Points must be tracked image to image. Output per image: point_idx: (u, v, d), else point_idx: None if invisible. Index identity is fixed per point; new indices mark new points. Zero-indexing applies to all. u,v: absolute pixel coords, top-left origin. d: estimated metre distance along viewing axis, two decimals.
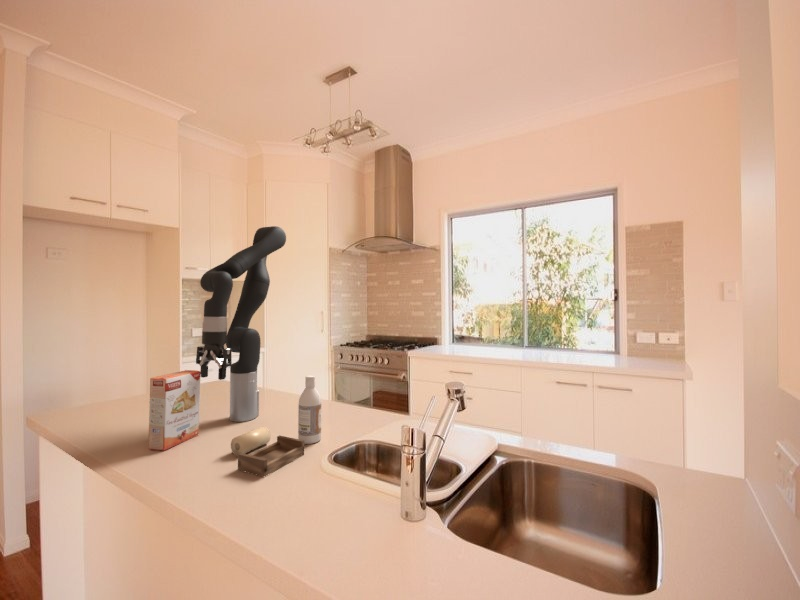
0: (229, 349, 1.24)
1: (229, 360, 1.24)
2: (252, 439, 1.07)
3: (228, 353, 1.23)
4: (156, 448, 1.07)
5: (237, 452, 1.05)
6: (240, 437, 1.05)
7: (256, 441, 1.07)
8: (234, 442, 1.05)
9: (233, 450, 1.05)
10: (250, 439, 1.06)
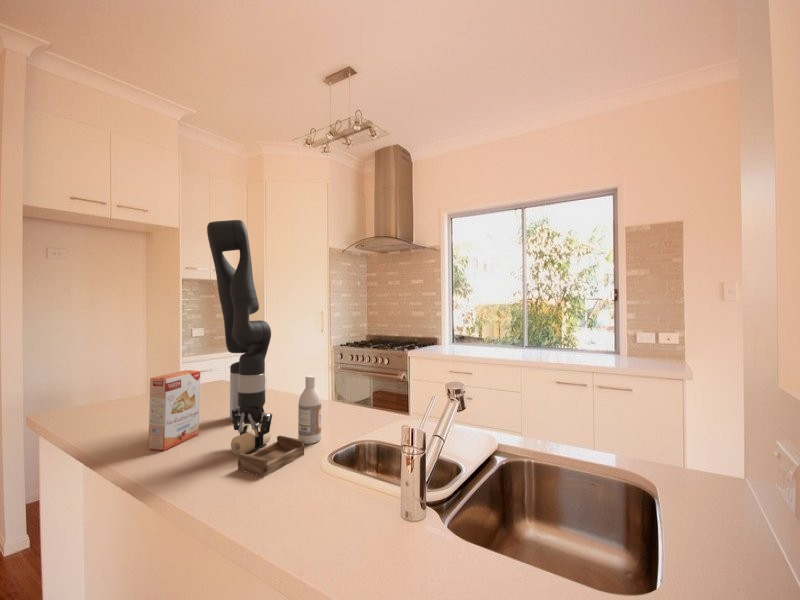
0: (269, 415, 1.07)
1: (267, 427, 1.08)
2: (252, 439, 1.07)
3: (268, 420, 1.07)
4: (156, 448, 1.07)
5: (237, 452, 1.05)
6: (240, 437, 1.05)
7: None
8: (234, 442, 1.05)
9: (233, 450, 1.05)
10: (251, 439, 1.06)
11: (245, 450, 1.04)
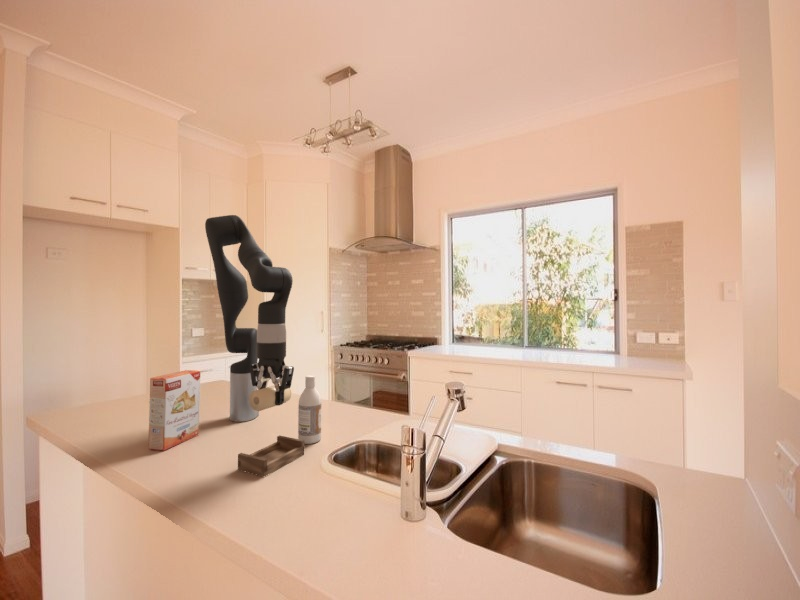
0: (291, 368, 0.98)
1: (289, 381, 0.99)
2: (272, 393, 0.98)
3: (290, 373, 0.98)
4: (156, 448, 1.07)
5: (256, 407, 0.96)
6: (259, 390, 0.96)
7: None
8: (253, 396, 0.96)
9: (252, 405, 0.96)
10: (271, 394, 0.97)
11: (265, 405, 0.95)
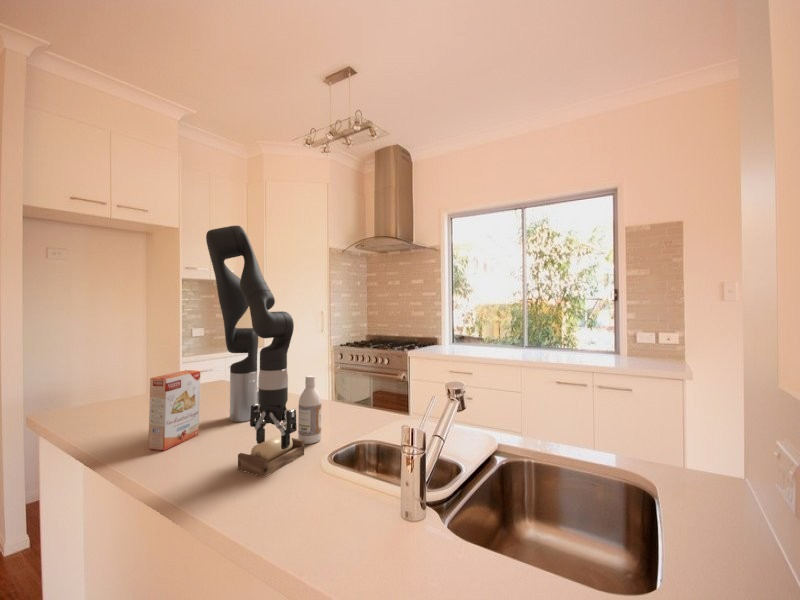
0: (293, 410, 0.98)
1: (294, 424, 0.98)
2: (274, 447, 0.98)
3: (293, 416, 0.98)
4: (156, 448, 1.07)
5: None
6: (261, 445, 0.96)
7: (278, 449, 0.99)
8: (255, 450, 0.96)
9: None
10: (272, 447, 0.98)
11: (267, 460, 0.96)
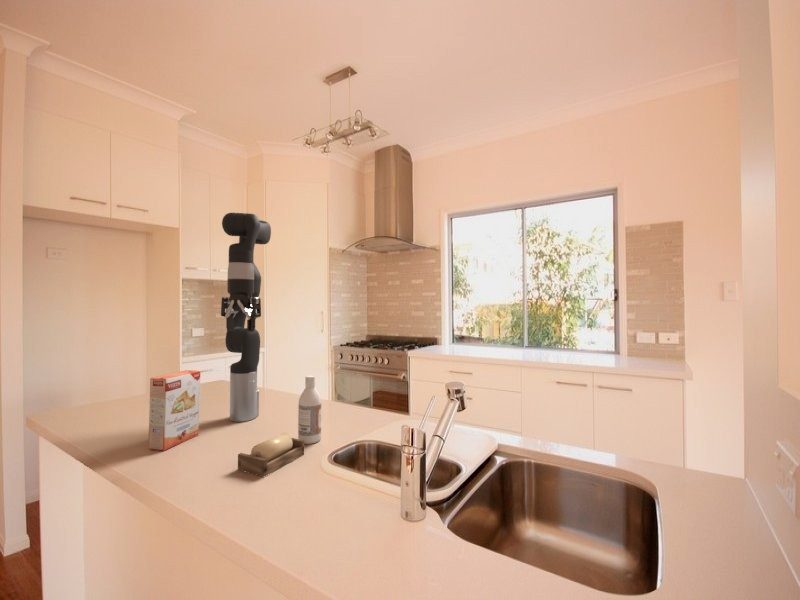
0: (258, 298, 1.12)
1: (258, 310, 1.12)
2: (274, 447, 0.98)
3: (257, 302, 1.11)
4: (156, 448, 1.07)
5: None
6: (261, 445, 0.96)
7: (278, 449, 0.99)
8: (255, 450, 0.96)
9: None
10: (272, 447, 0.98)
11: (267, 460, 0.96)
